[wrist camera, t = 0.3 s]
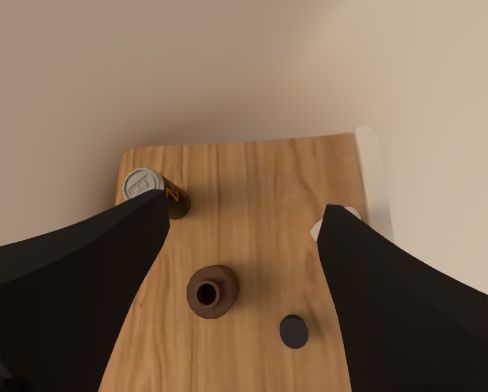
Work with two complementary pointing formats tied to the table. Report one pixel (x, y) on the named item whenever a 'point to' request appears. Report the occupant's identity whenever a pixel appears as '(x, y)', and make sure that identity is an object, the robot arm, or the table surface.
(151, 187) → the beer can
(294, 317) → the cylinder
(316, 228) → the eye dropper bottle
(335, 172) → the table surface
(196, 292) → the amber bottle
